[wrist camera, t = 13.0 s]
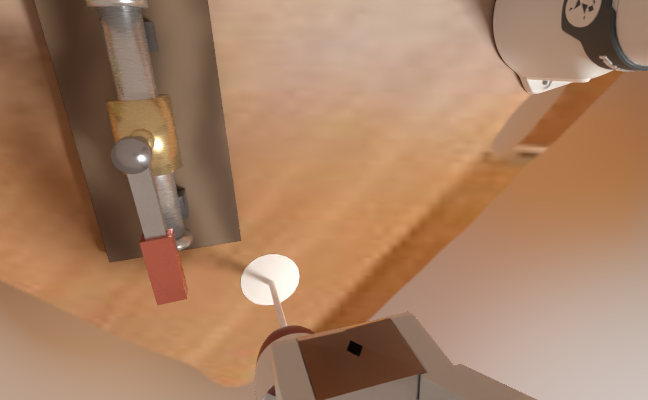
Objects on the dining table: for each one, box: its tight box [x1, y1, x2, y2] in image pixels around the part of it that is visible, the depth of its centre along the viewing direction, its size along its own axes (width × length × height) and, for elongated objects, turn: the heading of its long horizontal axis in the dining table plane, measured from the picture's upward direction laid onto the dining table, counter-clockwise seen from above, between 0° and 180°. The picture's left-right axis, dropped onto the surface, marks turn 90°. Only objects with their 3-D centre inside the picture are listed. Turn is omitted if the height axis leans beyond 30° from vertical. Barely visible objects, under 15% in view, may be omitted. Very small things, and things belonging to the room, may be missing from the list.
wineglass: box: [241, 254, 315, 400], centre depth 41 cm, size 8×9×20 cm
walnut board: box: [34, 0, 241, 262], centre depth 39 cm, size 14×28×2 cm, turn 3°
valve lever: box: [111, 136, 188, 305], centre depth 32 cm, size 14×3×4 cm, turn 4°
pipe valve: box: [85, 0, 193, 251], centre depth 35 cm, size 5×22×8 cm, turn 3°
